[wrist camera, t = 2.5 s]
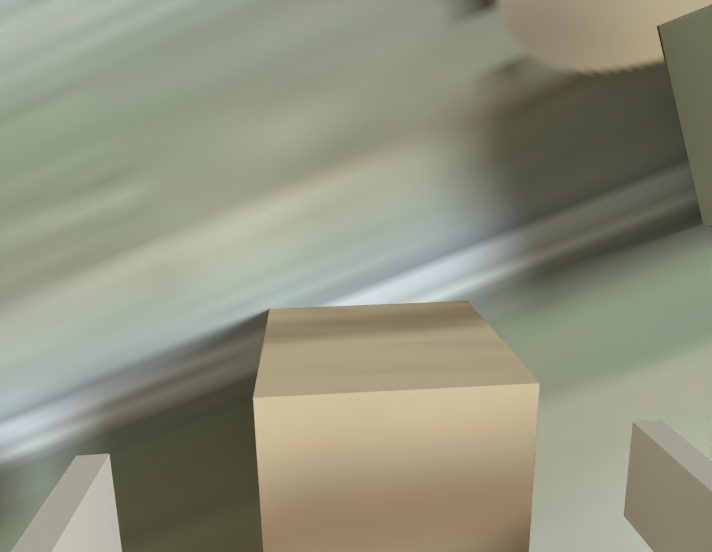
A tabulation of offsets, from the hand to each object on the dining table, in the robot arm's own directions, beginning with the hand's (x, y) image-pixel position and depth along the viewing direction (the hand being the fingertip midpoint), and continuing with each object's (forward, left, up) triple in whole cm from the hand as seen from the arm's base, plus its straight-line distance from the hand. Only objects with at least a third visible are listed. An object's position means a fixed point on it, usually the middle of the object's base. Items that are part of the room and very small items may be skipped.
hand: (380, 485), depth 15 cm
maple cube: (0, 0, -4) cm, 4 cm away
